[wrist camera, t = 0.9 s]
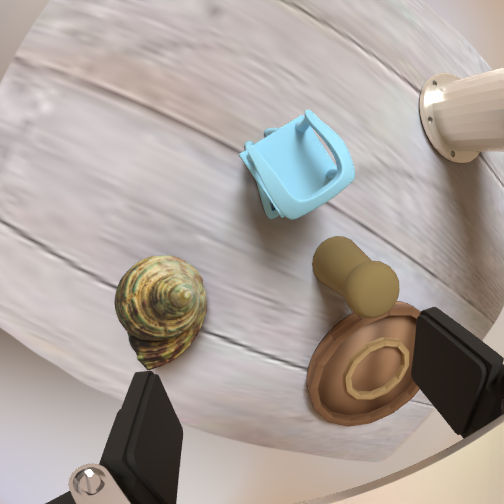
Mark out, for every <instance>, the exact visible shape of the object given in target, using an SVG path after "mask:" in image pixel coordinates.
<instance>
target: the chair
mask: <svg viewBox="0 0 504 504" xmlns="http://www.w3.org/2000/svg"><path fill="white" fill-rule="evenodd" d="M311 127H312V128H313V129H314V130H315V131H316V132H317V133H318V134H319V135H320V137H321V138H322V139H323V140H324V141H325V143H326V144H327V145H328V147H329V148H330V150H331V152H332V153H333V155H334V158H335V160H336V164H337V167H336V165H335V164H334V162H333V161H332V159H331V158H330V156H329V155H328V153H327V152H326V150H325V149H324V147H323V145H322V144H321V142H320V141H319V139H318V138H317V136H316V134H315V133H314V131H313V130H312V128H311ZM264 134H265V136H266V137H265V138H264V139H262V140H261V141H259V142H258V143H256V144H254V143H253V142H251V141H247V142H245V144H244V146H245V149H246V150H245V151H244V152H242V153H241V154H239V157H240V158H241V159H242V161H243V162H244V164H245V165H246V167H247V168H248V169H249V171H250V172H251V174H252V175H253V177H254V178H255V179H256V183H257V187H258V190H259V194H260V197H261V201H262V204H263V208H264V210H265V213H266V215H267V216H268V218H269V219H275V218H276V217H278V216H279V215H280V217H282V218H284V217H287V218H288V219H292V220H293V219H297V218H300V217H302V216H303V215H305V214H307V213H309V212H311V211H313V210H314V209H316V208H318V207H319V206H321V205H323V204H324V203H326V202H327V201H329V200H330V199H332V198H333V197H335V196H336V195H337V194H338V193H340V192H341V191H342V190H343V189H345V188H346V187H347V186H348V185H349V184H350V183H351V182H352V181H353V180H354V178H355V169H354V165H353V162H352V158H351V156H350V153H349V151H348V149H347V147H346V145H345V143H344V142H343V140H342V139H341V138H340V137H339V136H338V135H337V134H336V133H335V132H334V131H333V130H332V129H331V128H330V127H328V126H327V125H326V124H325V123H323V122H322V121H321V120H320V119H319V118H318V117H317V116H316V115H315V114H314V113H313V112H312V111H310V110H306V111H305V117H304V116H303V115H301V116H299V117H298V118H296V119H294V120H293V121H291V122H289V123H288V124H286V125H285V126H283V127H281V128H268V129H266V130H265V131H264ZM270 202H271V203H272V205H273V206H274V208H275V210H273V211H272V209H271V205H270Z"/></svg>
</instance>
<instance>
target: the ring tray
mask: <svg viewBox="0 0 504 504" xmlns="http://www.w3.org/2000/svg"><path fill="white" fill-rule="evenodd" d="M420 312H421V311H419V310H418V309H416V308H415V307H414V306H412V305H410V304H408V303H404V302H401V301H396V303H395V305H394V306H393V307H392V308H391V310H390V311H389V312H387V313H386V314H384V315H383V316H380V317H377V318H364V317H361V316H358V315H356V314H355V313H354V312H353V313H351V314H350V315H348V316H347V317H345V318H344V319H343V320H341V321H340V322H339V323H338V324H337V325H335V326H334V327H333V328H332V329H331V330H330V331H329V332H328V333H327V334H326V336H325V337H324V338H323V339H322V341H321V342H320V343H319V345H318V347H317V348H316V350H315V352H314V354H313V356H312V358H311V361H310V364H309V367H308V372H307V386H308V391H309V394H310V397H311V401H312V404H313V407H314V409H315V410H316V411H317V412H318V413H319V414H320V415H321V416H322V417H324V418H325V419H326V420H327V421H328V422H332V423H336V424H340V425H345V426H354V425H361V424H368V423H372V422H374V421H377V420H379V419H381V418H383V417H386V416H388V415H390V414H392V413H394V412H395V411H396V410H398V409H399V408H400V407H402V406H403V405H404V404H406V403H407V402H408V401H409V400H411V399H412V397H414V396H415V394H416V393H417V392H418V391H419V389H420V388H419V387H418V386H417V385H416V384H415V382H414V381H413V379H412V376H411V369H412V362H413V353H414V344H415V333H416V321H417V317H418V316H419V315H420Z"/></svg>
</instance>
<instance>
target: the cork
mask: <svg viewBox="0 0 504 504" xmlns="http://www.w3.org/2000/svg"><path fill="white" fill-rule="evenodd" d="M312 266H313V271H314V274H315V275H316V277H317V279H318V280H319V281H321V282H322V283H323V284H325V285H326V286H328V287H330V288H331V289H333V290H334V291H336V292H338V293H339V294H341V295H343V296H344V297H345V300H346V302H347V304H348V306H349V308H350V309H351V310H352V311H353V312H354V313H355V314H356V315H358V316H361V317H364V318H377V317H380V316H383V315H384V314H386V313H387V312H389V311H390V310H391V308H392V307H393V306H394V305H395V303H396V301H397V299H398V295H399V280H398V278H397V275H396V273H395V272H394V271H393V270H392V269H391V267H390V266H388V265H386V264H384V263H382V262H380V261H372V260H371V259H370V258H369V257H368V256H367V255H366V254H365V253H364V252H363V251H362V250H361V249H360V248H359V247H358V246H357V245H356V244H355V243H354V242H353V241H352V240H350V239H348V238H346V237H342V236H335V237H331V238H329V239H327V240H325V241H324V242H322V243H321V245H320V246H319V247H318V248H317V249H316V252H315V254H314V256H313V263H312Z"/></svg>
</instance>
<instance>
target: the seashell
mask: <svg viewBox="0 0 504 504" xmlns="http://www.w3.org/2000/svg"><path fill="white" fill-rule="evenodd" d="M202 283H203V279H202V277H201V275H200V274H199V273H198V272H197V270H196V269H195V268H194V267H193V266H192V265H190V264H188V263H187V262H186V261H184V260H182V259H180V258H177V257H173V256H151V257H148V258H145V259H143V260H141V261H139V262H138V263H136V264H135V265H134V266H133V267H132V268H131V269H129V270H128V271H127V273H126V274H125V275H124V276H123V277H122V279H121V280H120V282H119V284H118V287H117V290H116V295H115V309H116V314H117V317H118V319H119V321H120V323H121V324H122V325H123V327H124V328H125V329H126V330H127V331H128V332H127V333H128V336H129V342H130V345H131V347H132V348H133V350H134V351H135V352H136V354H137V359H138V360H139V361H140V362H141V364H142V365H143V366H144V367H145V368H146V369H147V370H151V369H154V368H157V367H160V366H162V365H164V364H166V363H168V362H170V361H172V360H174V359H175V358H177V357H178V356H179V355H180V354H182V353H183V352H184V351H185V350H186V349H187V348H188V347H189V346H190V344H191V343H192V341H193V340H194V339H195V337H196V336H197V334H198V332H199V331H200V329H201V326H202V323H203V320H204V317H205V314H206V310H207V300H206V291H205V289H203V288H204V286H203V284H202Z"/></svg>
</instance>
